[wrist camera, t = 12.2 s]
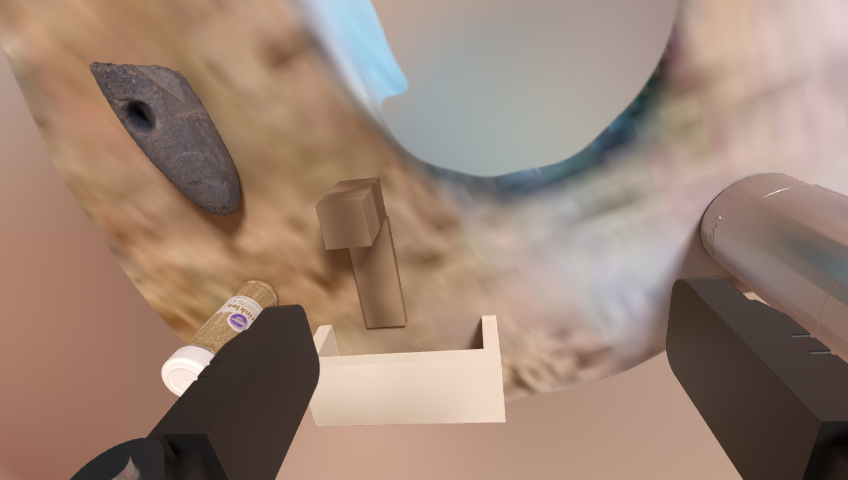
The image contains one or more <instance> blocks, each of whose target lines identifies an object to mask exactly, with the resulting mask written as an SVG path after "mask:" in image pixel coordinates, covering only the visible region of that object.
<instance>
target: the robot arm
mask: <svg viewBox="0 0 848 480" xmlns="http://www.w3.org/2000/svg"><path fill="white" fill-rule="evenodd" d="M701 240H702V244H703V246H704V248H705V250H706V252H707V253H708V254H709V255H710V256H711V257H712V258H713V259H714V260H716V261H717V262H718V263H719V264H720V265H722V266H723V267H724V268H725V269H726V270H728V271H729V272H730V273H731V274H733V275H734V276H735V277H736V278H737V279H738V280H739V281H741V282H742V283H743V284H744V285H746V286H747V287H748V288H749V289H750V290H752V291H753V292H754V293H755V294H757V295H758V296H759V297H760V298H762V299H763V300H764V301H765V302H766V303H767V304H769V305H770V306H771V307H770V306H768V305H766V304H764V303H762V302H760V301H757V300H749V299H748V298H747V297H746V296H745V295H743V294H742V293H741V292H740V291H739V290H738V289H736V288H735V287H734V286H733V285H732V284H731V283H729V282H728V281H727V280H726V279H724V278H723V277H705V278H690V279H679V280H677V281H676V282H675V283H674V285H673V289H672V296H671V304H670V312H669V321H668V329H667V337H666V352H667V357H668V360H669V364H670V367H671V369H672V371H673V373H674V374H675V376H676V377H677V379H678V380H679V382H680V383H681V385H682V387H683V388H684V390H685V391H686V393H687V394H688V396H689V397H690V399H691V400H692V402H693V404H694V405H695V407H696V408H697V410H698V411H699V413H700V414H701V416H702V417H703V419H704V420H705V422H706V423H707V425H708V426H709V428H710V429H711V431H712V433H713V434H714V436H715V437H716V439H717V440H718V442H719V443H720V445H721V446H722V448H723V449H724V451H725V453H726V454H727V455H728V457H729V459H730V460H731V462H732V463H733V465H734V466H735V468H736V469H737V471H738V472H739V474H740V476H741V477H742V479H743V480H848V196H845V195H843V194H840V193H837V192H835V191H832V190H829V189H827V188H824V187H821V186H818V185H811V184H808V183H806V182H803V181H800V180H798V179H795V178H792V177H789V176H786V175H783V174H773V173H769V174H759V175H755V176H752V177H748V178H745V179H743V180H741V181H739V182H736V183H734V184H733V185H731V186H730V187H728V188H727V189H725V190H724V191H723V192H722V193H721V194H720V195H719V196H718V197H716V198H715V200H714V201H713V202H712V203H711V205H710V206H709V207H708V209H707V211H706V213H705V215H704V217H703V221H702V224H701ZM319 375H320V362H319V357H318V353H317V350H316V347H315V343H314V340H313V337H312V333H311V330H310V327H309V323H308V320H307V316H306V313H305V311H304V309H303V307H302V306H301V305H283V306H268V307H265V308H264V309H263V310H262V311H261V312H260V314H259V315H258V316H257V318H256V319H255V320H254V321H253V323H252V324H251V325H250V326H249V328H248V329H246V330H243V331H242V332H240V333H239V334H238V335H236V336H235V337H234V338H232V339H231V340H229V341H228V342H227V343H225V344H224V345H223V346H222V347H221V349H220V350H219V351H218V352H217V353H216V355H215V356H214V357H213V358H212V359H211V361H210V364H209V365H206V367H205V368H204V369H203V370H202V371H201V373H200V374H199V375H198V376H197V380H194V381H193V382H192V383H191V385H190V386H189V387H188V388H187V389H186V391H185V392H184V393H183V394H182V395H181V397H180V398H179V399H178V401H176V403H175V404H174V405H173V406H172V407H171V409H170V410H169V411H168V412H167V413H166V415H165V416H164V417H163V418H162V419H161V421H160V422H159V423H158V424H157V425H156V427H155V428H154V429H153V430H152V431H151V433H150V434H149V435H148V436H147V437H146V438H138V439H132V440H129V441H126V442H123V443H121V444H118V445H116V446H114V447H112V448H110V449H108V450H106V451H104V452H103V453H101V454H99V455H98V456H97V457H95V458H94V459H92V460H91V461H89V462H88V463H87V464H86V465H85V466H83V467H82V468H81V469H80V470H79V471H78V472H77V473H76V474H75V475H74V476H73V477H72V478H71V479H70V480H275V478H276V475H277V474H278V472H279V469H280V467H281V465H282V463H283V460H284V458H285V456H286V454H287V451H288V449H289V447H290V445H291V442H292V440H293V438H294V436H295V434H296V431H297V429H298V427H299V425H300V422H301V420H302V418H303V416H304V414H305V411H306V409H307V407H308V405H309V403H310V400H311V398H312V396H313V394H314V391H315V389H316V387H317V384H318V381H319Z"/></svg>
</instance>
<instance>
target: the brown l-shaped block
mask: <svg viewBox="0 0 848 480" xmlns="http://www.w3.org/2000/svg"><path fill="white" fill-rule="evenodd" d="M315 207H316V211H317V215H318V219H319V223H320V227H321V231H322V235H323V239H324V243H325V247H326V250H329V249H341V248H349V251H350V256H351V260H352V264H353V269H354V273H355V277H356V282H357V286H358V290H359V295H360V299H361V303H362V308H363V312H364V316H365V321H366V325H367V328H375V327H392V326H406V324H407V316H406V310H405V305H404V299H403V294H402V288H401V283H400V277H399V272H398V266H397V261H396V256H395V250H394V245H393V239H392V234H391V228H390V223H389V217H388V216H386V212H385V206H384V201H383V196H382V190H381V185H380V179H379V177H376V178H367V179H358V180H349V181H340V182H338V183H337V184H336V185H335V186H334V187H333V188H332V189H331V190H330V191H329V192H328V193H327V194H326V195H325V196H324V197H323V198H322V199H321V200H320V201H319V202H318V203H317V204H316V205H315Z"/></svg>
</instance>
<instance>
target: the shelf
mask: <svg viewBox="0 0 848 480" xmlns="http://www.w3.org/2000/svg"><path fill="white" fill-rule="evenodd" d="M482 330H483V346H484V349H472V350H452V351H432V352H412V353H392V354H371V355H351V356H340V352H339V349H338V345H337V341H336V338H335V334H334V330H333V327H332V325H325V326H319V328H318V330H317V332H316V334H315V335H314V337H313V340H314V343H315V347H316V350H317V353H318V357H319V362H320V375H319V381H318V384H317V387H316V389H315V391H314V394H313V396H312V398H311V400H310V403H309V406H310V409H311V412H312V415H313V418H314V421H315V424H316V426H317V427H321V426H359V425H360V426H361V425H398V424H400V425H401V424H438V423H439V424H442V423H483V422H506V421H505V409H504V395H503V383H502V370H501V357H500V349H499V340H498V331H497V323H496V315H490V316H482Z"/></svg>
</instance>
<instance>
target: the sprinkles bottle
mask: <svg viewBox="0 0 848 480" xmlns="http://www.w3.org/2000/svg"><path fill="white" fill-rule="evenodd" d="M277 305H278V297H277V294H276V292H275V291H274V289H273V288H272V287H271V286H270V285H269V284H267V283H265V282H263V281H259V280H252V281H248V282H245V283H244V284H243V285H242V286H241V287H240V289H239V290H238V291H237V292H236V293H235V294H234V295H233V296H232V297H231V298H230V299H229V300H228V301H227V302H226V303H225V304H224V305H223V306H222V307H221V308H220V309H219V310H218V311H217V312H216V313H215V314H214V315H213V316H212V317H211V318H210V319H209V320H208V321H207V322H206V323H205V324H204V325H203V327H202V328H201V329H200V330H199V331H198V333H197V334H195V336H194V337H193V338H192V339H191V340H190V341H189V342H188V343H187V344H186V345H185V346H184V347H182V348H180V349H178V350H177V351H176V352H175V353H174V354H173V355H172V356H171V357H170V358H169V359H168V360H167V362H166V363H165V364H164V366H163V368H162V379H163V381H164V383H165V385H166V386H167V387H168V388H169V389H170V390H171V391H172V392H173V393H174V394H176V395H178V396H180V397H181V395H182V394H183V393H184V392H185V391H186V389H187V388H188V387H189V386H190V385H191V383H192V382H193V381H194V380H197V376H198V375H199V374H200V373H201V371H202V370H203V369H204V368H205V367H206V365H209V364H210V361H211V359H212V358H213V357H214V356H215V355H216V353H217V352H218V351H219V350H220V349H221V347H222V346H223V345H224V344H225V343H227V342H228V341H229V340H231V339H232V338H234V337H235V336H236V335H238V334H239V333H240V332H242V331H243V330H246V329H248V328H249V326H250V325H251V324H252V323H253V321H254V320H255V319H256V318H257V316H258V315H259V314H260V312H261V311H262V310H263V309H264V308H265V307H268V306H277Z"/></svg>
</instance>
